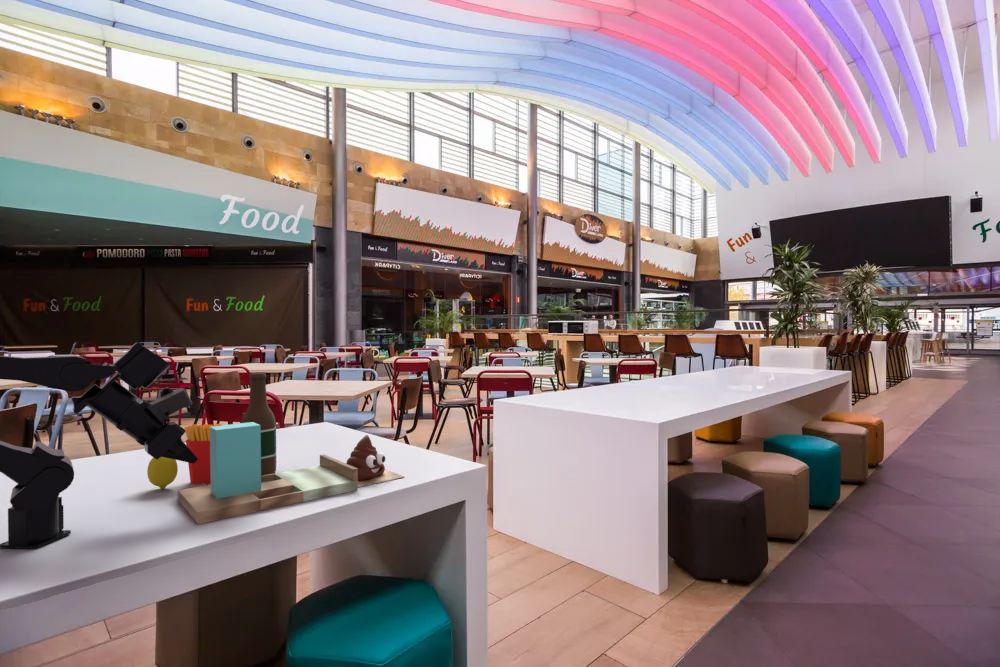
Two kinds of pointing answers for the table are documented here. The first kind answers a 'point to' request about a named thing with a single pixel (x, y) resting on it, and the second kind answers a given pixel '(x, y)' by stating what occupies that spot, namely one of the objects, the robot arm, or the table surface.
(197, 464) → the french fries
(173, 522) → the table surface
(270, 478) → the board
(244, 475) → the block
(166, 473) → the lemon
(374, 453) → the poop emoji
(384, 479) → the coaster
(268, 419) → the beer bottle
